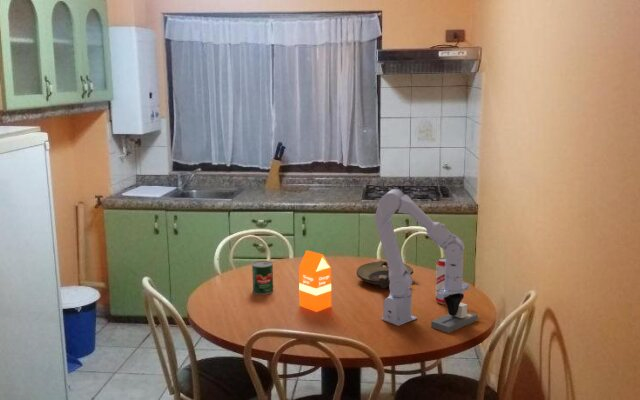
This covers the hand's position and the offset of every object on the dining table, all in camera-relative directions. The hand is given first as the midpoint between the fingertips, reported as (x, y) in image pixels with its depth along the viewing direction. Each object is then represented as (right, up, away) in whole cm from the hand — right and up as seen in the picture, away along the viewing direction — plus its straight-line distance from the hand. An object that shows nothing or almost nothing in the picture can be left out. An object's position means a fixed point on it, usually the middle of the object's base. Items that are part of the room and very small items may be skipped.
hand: (452, 314), depth 206 cm
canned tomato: (-66, +2, +35) cm, 75 cm away
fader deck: (+1, -3, +2) cm, 4 cm away
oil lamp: (-19, +4, +43) cm, 47 cm away
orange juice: (-45, -1, +19) cm, 49 cm away
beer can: (+2, 0, +22) cm, 22 cm away
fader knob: (+2, 0, +2) cm, 3 cm away
